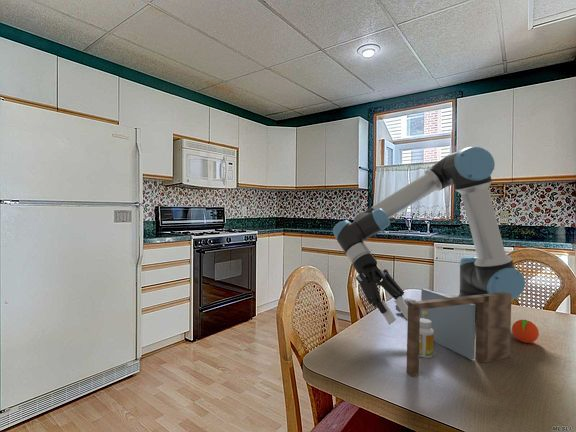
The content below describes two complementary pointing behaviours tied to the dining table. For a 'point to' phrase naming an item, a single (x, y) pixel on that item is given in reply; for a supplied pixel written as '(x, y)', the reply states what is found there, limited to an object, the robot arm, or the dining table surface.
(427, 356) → the supplement bottle
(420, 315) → the mineral specimen
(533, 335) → the clementine
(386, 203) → the robot arm
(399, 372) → the dining table surface
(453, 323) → the door
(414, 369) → the door frame
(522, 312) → the dining table surface
